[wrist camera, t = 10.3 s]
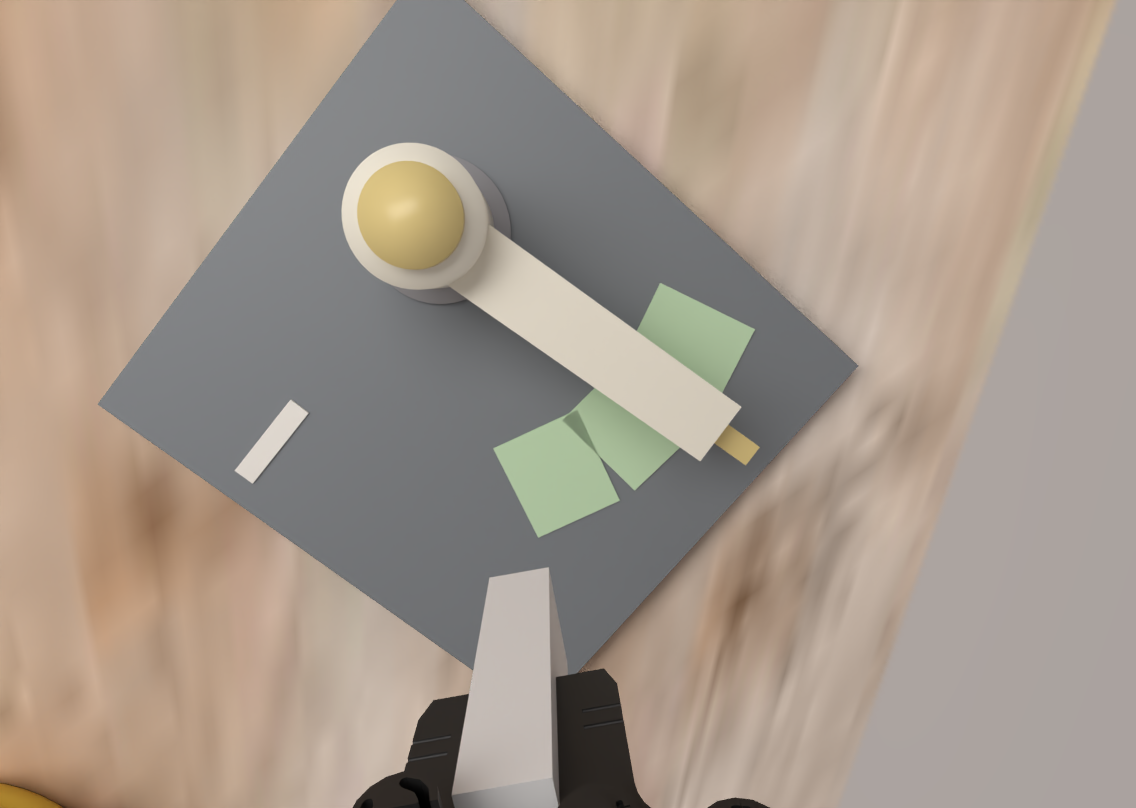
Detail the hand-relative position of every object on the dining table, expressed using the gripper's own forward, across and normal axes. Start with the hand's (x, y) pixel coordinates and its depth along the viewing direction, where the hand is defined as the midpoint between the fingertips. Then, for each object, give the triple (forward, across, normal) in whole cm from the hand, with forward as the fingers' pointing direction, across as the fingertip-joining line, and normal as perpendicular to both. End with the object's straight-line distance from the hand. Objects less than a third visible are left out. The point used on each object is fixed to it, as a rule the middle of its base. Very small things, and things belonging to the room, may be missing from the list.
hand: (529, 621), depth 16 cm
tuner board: (+16, -2, +4) cm, 16 cm away
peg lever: (+14, +3, +6) cm, 16 cm away
